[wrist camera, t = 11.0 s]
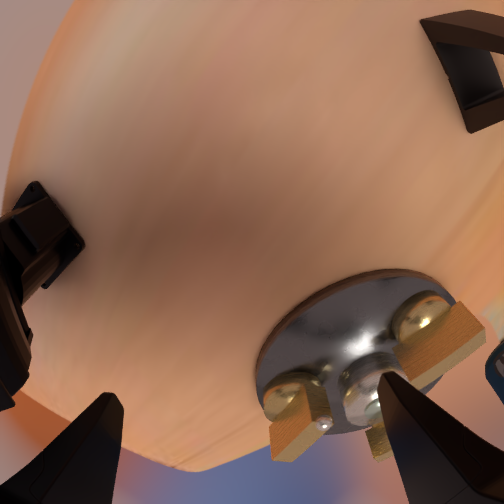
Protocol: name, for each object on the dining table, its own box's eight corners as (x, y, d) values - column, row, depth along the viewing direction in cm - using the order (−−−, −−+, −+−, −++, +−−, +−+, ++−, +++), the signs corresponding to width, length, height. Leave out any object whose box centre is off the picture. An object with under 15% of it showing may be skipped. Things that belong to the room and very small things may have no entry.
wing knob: (300, 414, 25) (309, 468, 19) (250, 406, 24) (253, 464, 19) (339, 367, 22) (359, 426, 17) (285, 355, 21) (295, 421, 16)
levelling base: (317, 441, 31) (326, 488, 24) (207, 354, 23) (199, 424, 17) (463, 359, 26) (491, 401, 20) (426, 219, 19) (485, 261, 13)
